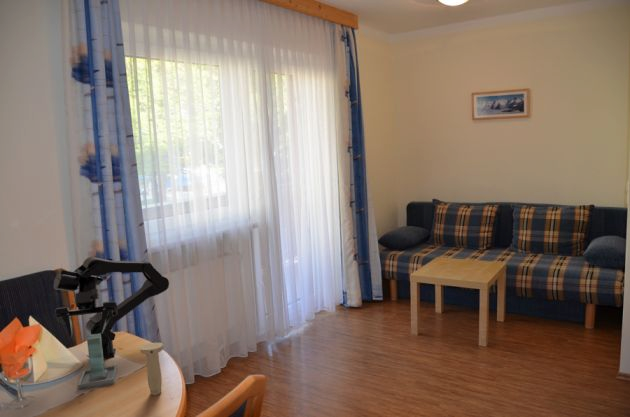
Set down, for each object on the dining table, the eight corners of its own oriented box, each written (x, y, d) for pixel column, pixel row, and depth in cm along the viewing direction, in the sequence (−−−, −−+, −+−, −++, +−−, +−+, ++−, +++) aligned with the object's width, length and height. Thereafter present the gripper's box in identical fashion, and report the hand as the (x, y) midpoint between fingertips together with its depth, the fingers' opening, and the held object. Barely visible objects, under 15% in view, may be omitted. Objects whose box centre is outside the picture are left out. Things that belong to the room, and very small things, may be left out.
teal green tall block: (91, 375, 164) (86, 334, 162) (107, 372, 166) (103, 332, 163) (89, 382, 159) (84, 340, 157) (106, 379, 161) (101, 338, 159)
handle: (167, 395, 151) (162, 347, 149) (144, 399, 149) (139, 351, 147) (166, 387, 155) (162, 341, 153) (145, 391, 154) (140, 344, 151)
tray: (84, 374, 166) (83, 370, 166) (117, 369, 169) (116, 365, 169) (78, 389, 156) (78, 384, 156) (114, 383, 159) (113, 379, 159)
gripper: (52, 284, 164) (48, 329, 155) (113, 277, 169) (113, 320, 160) (59, 300, 173) (56, 343, 164) (117, 293, 178) (118, 335, 169)
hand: (86, 335), depth 164 cm, fingers open, 9 cm apart
